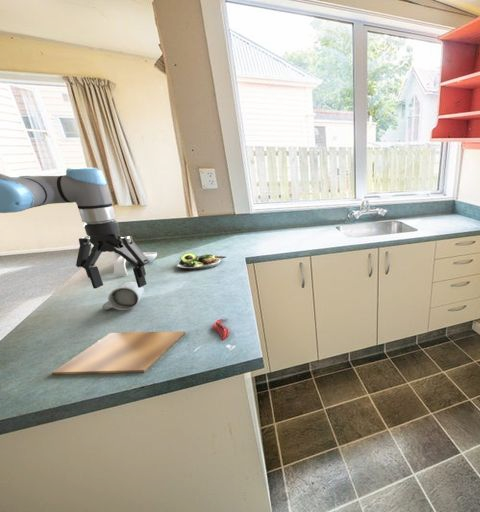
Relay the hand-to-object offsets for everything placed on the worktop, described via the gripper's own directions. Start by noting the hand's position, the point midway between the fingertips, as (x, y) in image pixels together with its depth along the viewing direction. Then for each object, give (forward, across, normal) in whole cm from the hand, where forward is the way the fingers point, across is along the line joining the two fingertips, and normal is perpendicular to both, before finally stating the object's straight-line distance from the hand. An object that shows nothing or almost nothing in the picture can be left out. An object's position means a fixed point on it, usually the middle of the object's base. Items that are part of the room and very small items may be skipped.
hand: (120, 286), depth 95 cm
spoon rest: (+7, +24, -38) cm, 46 cm away
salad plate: (+7, -2, -41) cm, 42 cm away
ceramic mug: (+7, 0, 0) cm, 7 cm away
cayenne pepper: (+8, -38, +16) cm, 42 cm away
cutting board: (+7, -19, +25) cm, 32 cm away
